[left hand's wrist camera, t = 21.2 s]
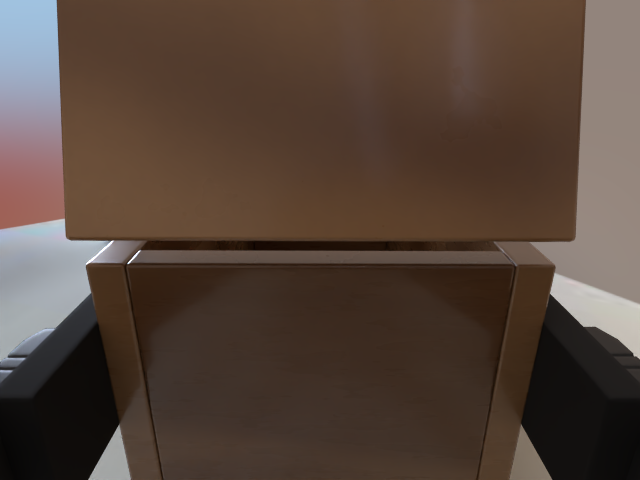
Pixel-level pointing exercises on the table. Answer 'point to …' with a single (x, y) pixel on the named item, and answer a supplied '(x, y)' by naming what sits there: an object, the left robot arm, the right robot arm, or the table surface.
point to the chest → (320, 356)
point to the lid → (321, 119)
